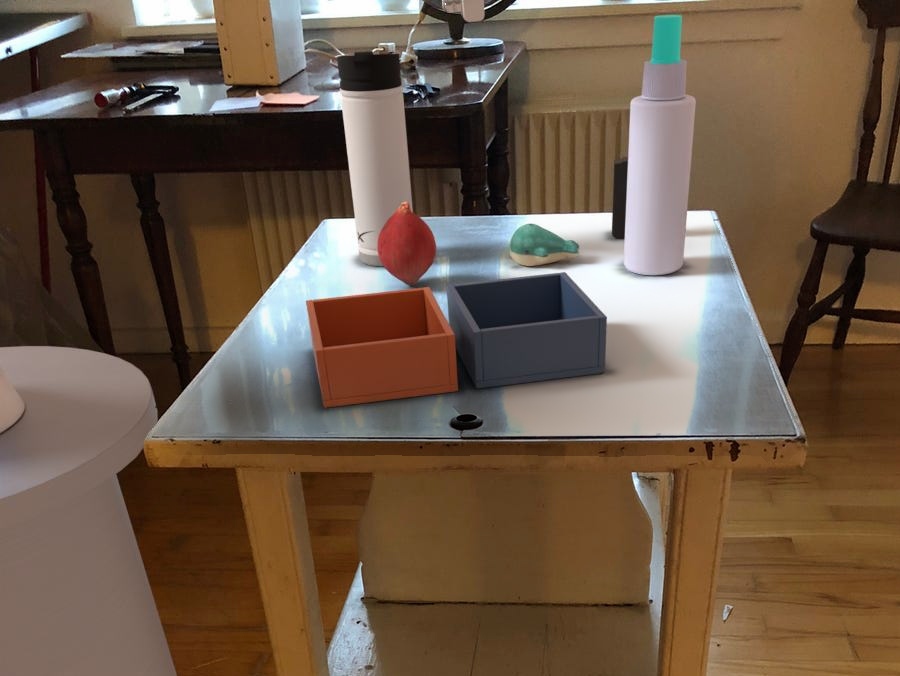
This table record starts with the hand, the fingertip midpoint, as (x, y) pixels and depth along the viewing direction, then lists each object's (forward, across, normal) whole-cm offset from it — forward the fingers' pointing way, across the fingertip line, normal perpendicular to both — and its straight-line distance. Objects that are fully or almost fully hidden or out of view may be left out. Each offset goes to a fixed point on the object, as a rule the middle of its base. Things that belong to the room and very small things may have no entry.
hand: (463, 16), depth 88 cm
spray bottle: (+24, +5, +17) cm, 29 cm away
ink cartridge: (+24, -7, +19) cm, 31 cm away
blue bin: (+23, +24, -1) cm, 33 cm away
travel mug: (+23, -8, -9) cm, 26 cm away
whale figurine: (+23, -1, +7) cm, 24 cm away
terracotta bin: (+22, +24, -14) cm, 35 cm away
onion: (+23, +2, -8) cm, 24 cm away
